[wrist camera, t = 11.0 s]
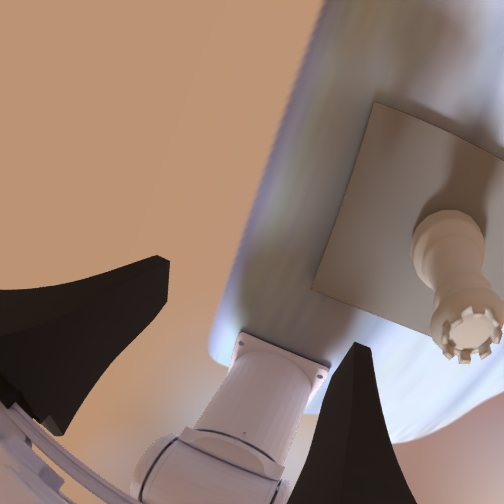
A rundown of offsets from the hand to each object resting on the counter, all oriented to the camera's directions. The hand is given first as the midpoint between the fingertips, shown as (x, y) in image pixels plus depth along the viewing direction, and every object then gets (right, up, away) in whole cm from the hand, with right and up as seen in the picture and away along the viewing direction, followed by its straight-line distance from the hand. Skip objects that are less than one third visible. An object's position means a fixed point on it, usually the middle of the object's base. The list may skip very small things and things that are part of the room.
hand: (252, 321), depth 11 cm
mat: (+11, +3, +5) cm, 13 cm away
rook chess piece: (+11, +3, +5) cm, 12 cm away
